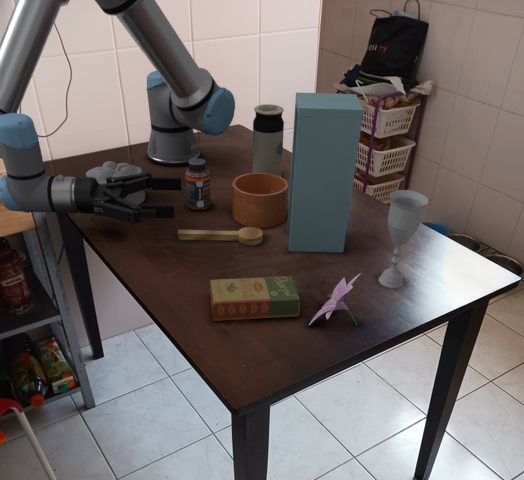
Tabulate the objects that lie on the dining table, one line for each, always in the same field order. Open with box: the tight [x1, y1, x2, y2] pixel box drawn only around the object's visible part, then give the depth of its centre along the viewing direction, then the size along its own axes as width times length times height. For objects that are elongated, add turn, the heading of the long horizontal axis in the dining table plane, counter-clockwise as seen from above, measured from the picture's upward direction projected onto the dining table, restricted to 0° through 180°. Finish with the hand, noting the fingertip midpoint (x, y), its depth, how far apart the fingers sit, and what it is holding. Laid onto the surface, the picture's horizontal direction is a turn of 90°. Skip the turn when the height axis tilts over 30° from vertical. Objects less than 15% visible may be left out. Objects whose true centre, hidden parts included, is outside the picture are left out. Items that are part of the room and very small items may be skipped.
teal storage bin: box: [286, 92, 365, 253], centre depth 113 cm, size 10×12×30 cm
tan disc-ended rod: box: [177, 226, 264, 246], centre depth 122 cm, size 19×6×2 cm, turn 90°
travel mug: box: [251, 103, 285, 177], centre depth 143 cm, size 8×8×18 cm
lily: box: [308, 272, 362, 326], centre depth 98 cm, size 12×12×10 cm
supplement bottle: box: [184, 158, 212, 211], centre depth 131 cm, size 6×6×11 cm
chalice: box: [378, 189, 429, 289], centre depth 105 cm, size 7×7×18 cm
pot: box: [231, 172, 289, 229], centre depth 129 cm, size 13×13×8 cm
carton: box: [209, 275, 301, 322], centre depth 101 cm, size 8×16×4 cm, turn 98°
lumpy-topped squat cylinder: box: [85, 160, 146, 206], centre depth 133 cm, size 10×13×9 cm
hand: (177, 197), depth 116 cm, fingers open, 13 cm apart
